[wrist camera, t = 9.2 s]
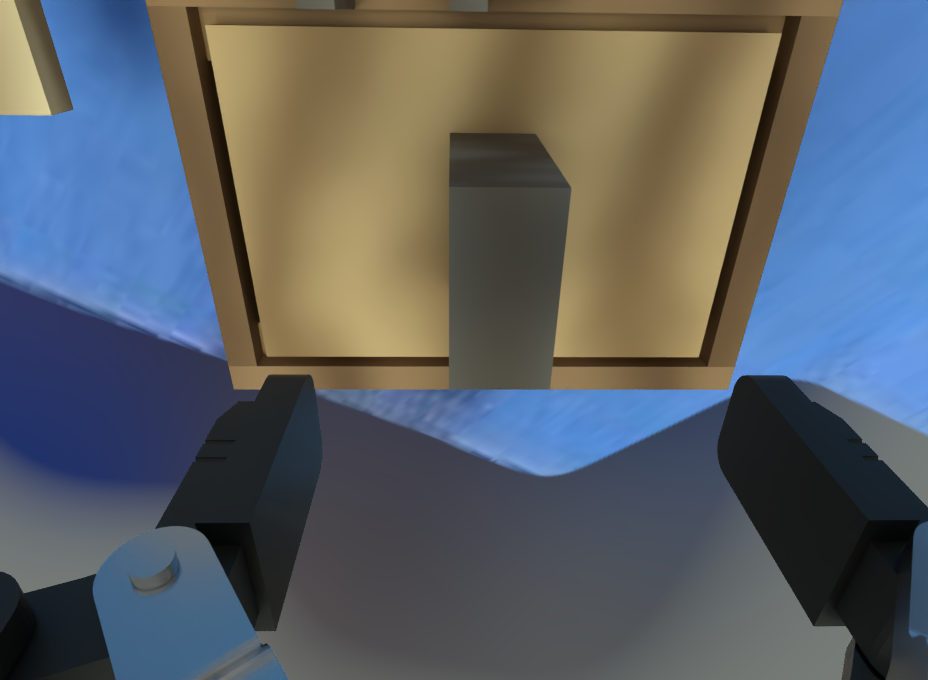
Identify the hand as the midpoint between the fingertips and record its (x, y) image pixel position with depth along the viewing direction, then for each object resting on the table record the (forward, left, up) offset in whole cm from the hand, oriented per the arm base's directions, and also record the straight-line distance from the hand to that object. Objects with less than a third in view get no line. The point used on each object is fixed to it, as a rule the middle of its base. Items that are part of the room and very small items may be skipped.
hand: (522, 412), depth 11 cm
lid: (0, 0, -13) cm, 13 cm away
